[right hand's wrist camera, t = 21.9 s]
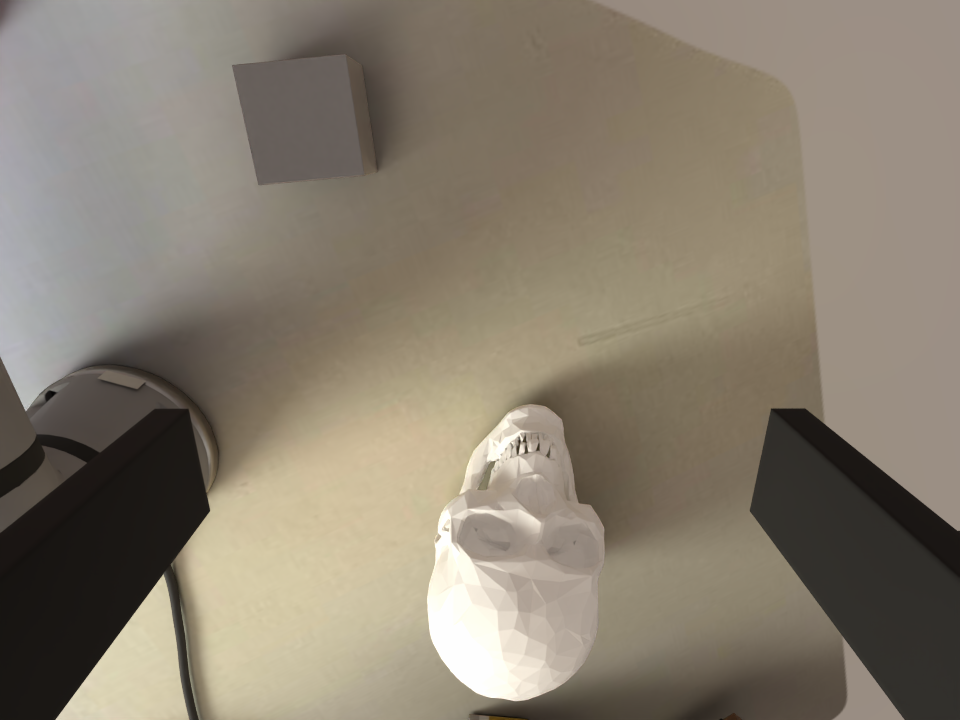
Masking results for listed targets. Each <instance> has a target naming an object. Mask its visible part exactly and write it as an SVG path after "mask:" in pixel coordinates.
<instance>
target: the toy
mask: <svg viewBox="0 0 960 720" xmlns="http://www.w3.org/2000/svg"><path fill="white" fill-rule="evenodd" d="M469 720H528V719H518V718H507V717H495V716H484V715H473V714H469Z"/></svg>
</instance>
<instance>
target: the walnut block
mask: <svg viewBox="0 0 960 720" xmlns="http://www.w3.org/2000/svg"><path fill="white" fill-rule="evenodd" d="M723 720H742V719H741V718H739V717H738V716H737V715H736V714H735V713H733V714H731V715H730V716H728V717H726V718H725V719H723Z"/></svg>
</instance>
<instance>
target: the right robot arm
mask: <svg viewBox="0 0 960 720" xmlns="http://www.w3.org/2000/svg"><path fill="white" fill-rule="evenodd" d="M217 467H218V450H217V444H216V441H215V437H214V434H213V432H212V429H211V427H210V425H209V423H208V421H207V420H206V418H205V417H204V415H203V414H202V412H201V411H200V410H199V408H198V407H197V406H196V405H195V404H194V403H193V402H192V401H191V400H190V399H189V398H188V397H187V396H186V395H185V394H184V393H183V392H181V391H180V390H179V389H178V388H176V387H175V386H173V385H172V384H170V383H169V382H167V381H165V380H163V379H162V378H160V377H157V376H155V375H153V374H151V373H148V372H145V371H142V370H139V369H135V368H131V367H126V366H117V365H101V366H93V367H88V368H84V369H81V370H78V371H76V372H73V373H71V374H70V375H68V376H66V377H64V378H62V379H61V380H59V381H57V382H55V383H53V384H52V385H50V386H49V387H47V388H46V389H45V390H44V391H43V392H42V393H40V394H39V396H38V397H37V398H36V399H35V401H34V402H33V403H32V404H31V406H30V407H29V408H28V410H27V411H26V412H25V409H24V407H23V405H22V403H21V401H20V399H19V396H18V394H17V392H16V390H15V388H14V386H13V383H12V381H11V379H10V377H9V375H8V373H7V370H6V368H5V366H4V364H3V362H2V360H1V358H0V720H55V719H56V718H57V717H58V715H59V714H60V713H61V711H62V710H63V709H64V707H65V706H66V705H67V703H68V702H69V701H70V699H71V698H72V696H73V695H74V694H75V692H76V691H77V690H78V688H79V687H80V686H81V684H82V683H83V682H84V680H85V679H86V678H87V676H88V675H89V674H90V672H91V671H92V670H93V668H94V667H95V665H96V664H97V663H98V661H99V660H100V659H101V657H102V656H103V655H104V653H105V652H106V651H107V649H108V648H109V647H110V645H111V644H112V643H113V641H114V640H115V638H116V637H117V636H118V634H119V633H120V632H121V630H122V629H123V628H124V626H125V625H126V624H127V622H128V621H129V620H130V618H131V617H132V616H133V614H134V613H135V612H136V610H137V609H138V607H139V606H140V605H141V603H142V602H143V601H144V599H145V598H146V597H147V595H148V594H149V593H150V591H151V590H152V589H153V587H154V586H155V585H156V583H157V582H158V581H159V579H160V578H161V576H162V575H163V574H164V576H165V580H166V583H167V587H168V591H169V596H170V602H171V608H172V615H173V622H174V628H175V634H176V641H177V649H178V659H179V669H180V676H181V683H182V688H183V693H184V698H185V703H186V707H187V711H188V715H189V719H190V720H199V719H198V715H197V711H196V707H195V703H194V698H193V693H192V688H191V683H190V677H189V670H188V661H187V650H186V640H185V633H184V626H183V620H182V613H181V606H180V599H179V593H178V588H177V583H176V579H175V576H174V572H173V569H172V567H171V563H172V562H173V560H174V559H175V558H176V556H177V555H178V554H179V552H180V551H181V549H182V548H183V547H184V545H185V544H186V543H187V541H188V540H189V539H190V537H191V536H192V535H193V533H194V532H195V531H196V529H197V528H198V527H199V525H200V524H201V523H202V521H203V520H204V518H205V517H206V516H207V514H208V513H209V512H210V508H209V503H208V498H207V492H208V491H209V489H210V488H211V486H212V484H213V482H214V479H215V476H216V473H217ZM750 512H751V513H752V514H753V516H754V517H755V518H756V520H757V521H758V523H759V524H760V525H761V527H762V528H763V529H764V531H765V532H766V533H767V535H768V536H769V537H770V539H771V540H772V541H773V543H774V544H775V545H776V547H777V548H778V549H779V551H780V552H781V554H782V555H783V556H784V558H785V559H786V560H787V562H788V563H789V564H790V566H791V567H792V568H793V570H794V571H795V572H796V574H797V575H798V576H799V578H800V579H801V581H802V582H803V583H804V585H805V586H806V587H807V589H808V590H809V591H810V593H811V594H812V595H813V597H814V598H815V599H816V601H817V602H818V603H819V605H820V606H821V607H822V609H823V610H824V612H825V613H826V614H827V616H828V617H829V618H830V620H831V621H832V622H833V624H834V625H835V626H836V628H837V629H838V630H839V632H840V633H841V634H842V636H843V637H844V639H845V640H846V641H847V643H848V644H849V645H850V647H851V648H852V649H853V651H854V652H855V653H856V655H857V656H858V657H859V659H860V660H861V661H862V663H863V664H864V665H865V667H866V668H867V670H868V671H869V672H870V674H871V675H872V676H873V678H874V679H875V680H876V682H877V683H878V684H879V686H880V687H881V688H882V690H883V691H884V692H885V694H886V695H887V696H888V698H889V699H890V701H891V702H892V703H893V705H894V706H895V707H896V709H897V710H898V711H899V713H900V714H901V715H902V717H903V718H904V719H905V720H960V531H957V530H955V529H954V528H953V527H952V526H950V525H949V524H948V523H947V522H945V521H944V520H943V519H942V518H941V517H939V516H938V515H937V514H936V513H934V512H933V511H932V510H931V509H929V508H928V507H927V506H926V505H924V504H923V503H922V502H921V501H919V500H918V499H917V498H916V497H914V496H913V495H912V494H911V493H909V492H908V491H907V490H906V489H904V488H903V487H902V486H901V485H900V484H898V483H897V482H896V481H895V480H893V479H892V478H891V477H890V476H888V475H887V474H886V473H885V472H883V471H882V470H881V469H880V468H878V467H877V466H876V465H875V464H873V463H872V462H871V461H870V460H868V459H867V458H866V457H865V456H863V455H862V454H861V453H860V452H858V451H857V450H856V449H855V448H854V447H852V446H851V445H850V444H849V443H847V442H846V441H845V440H844V439H842V438H841V437H840V436H839V435H837V434H836V433H835V432H834V431H832V430H831V429H830V428H829V427H827V426H826V425H825V424H824V423H822V422H821V421H820V420H819V419H817V418H816V417H815V416H814V415H813V414H811V413H810V412H809V411H808V410H806V409H771V412H770V417H769V422H768V426H767V431H766V436H765V441H764V446H763V450H762V455H761V460H760V465H759V469H758V474H757V479H756V484H755V489H754V493H753V498H752V503H751V508H750Z"/></svg>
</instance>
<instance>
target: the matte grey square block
mask: <svg viewBox="0 0 960 720" xmlns="http://www.w3.org/2000/svg"><path fill="white" fill-rule="evenodd" d="M232 67H233V71H234V76H235V81H236V85H237V90H238V94H239V99H240V103H241V108H242V112H243V117H244V121H245V126H246V130H247V135H248V140H249V144H250V149H251V153H252V158H253V162H254V167H255V171H256V176H257V180H258V185H268V184H278V183H289V182H300V181H311V180H321V179H332V178H343V177H354V176H364V175H368V174H372V173H376V172H378V171H377V164H376V157H375V150H374V143H373V136H372V129H371V123H370V116H369V109H368V102H367V95H366V88H365V81H364V75H363V68H362V65H361V64H359V63H358V62H356V61H355V60H354V59H352V58H351V57H349V56H348V55H346V54H339V55H329V56H319V57H309V58H299V59H289V60H279V61H269V62H259V63H249V64H239V65H232Z"/></svg>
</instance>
